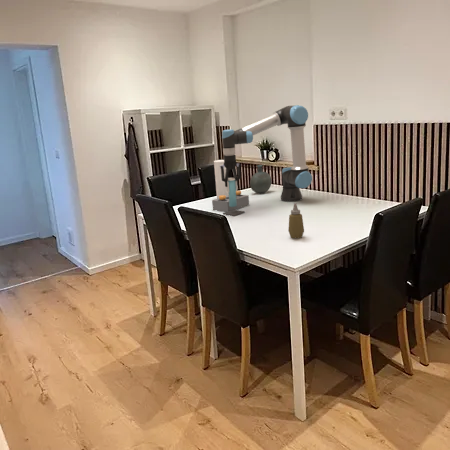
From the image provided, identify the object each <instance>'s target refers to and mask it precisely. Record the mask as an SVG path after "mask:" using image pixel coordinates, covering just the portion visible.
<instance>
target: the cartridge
mask: <svg viewBox="0 0 450 450" xmlns="http://www.w3.org/2000/svg"><path fill="white" fill-rule="evenodd" d="M228 182H229V192H228V193H229V206H230V207H235V206H237V201H236V186H235V177H228Z"/></svg>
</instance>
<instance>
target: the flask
mask: <svg viewBox="0 0 450 450" xmlns="http://www.w3.org/2000/svg"><path fill="white" fill-rule="evenodd" d="M256 167H257V169H256V170H257V172H255V173H254V174H253V175H252V176H251V178H250V180H249V186H250V190H252V191H253V192H254V193H255V194H264V193H267V192H268V191H269V190H270V188H271V186H272V177H271V174H269V173H267V172H266V171H263V170H264V169H263V168H262V167H263V165H262V164H259V165H256Z"/></svg>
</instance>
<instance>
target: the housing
mask: <svg viewBox="0 0 450 450" xmlns="http://www.w3.org/2000/svg"><path fill="white" fill-rule="evenodd" d="M211 201H212V202H211V203H212V211H215V210H217V211H216V212H222V211H224V212H223V213H225V212H228V211H231V210H239V209H242V208H244V207H249V206H250V197H249V195H248V194H240V196H236V201H237V206H235V207H230V206H229V195H228V196H226V199H225V201H220V199H219V198H218V199H217V198H215V199H212V200H211Z"/></svg>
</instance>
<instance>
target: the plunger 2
mask: <svg viewBox="0 0 450 450" xmlns="http://www.w3.org/2000/svg"><path fill="white" fill-rule="evenodd" d="M240 195H242V191H241V190H237V191H236V196H240Z"/></svg>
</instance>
